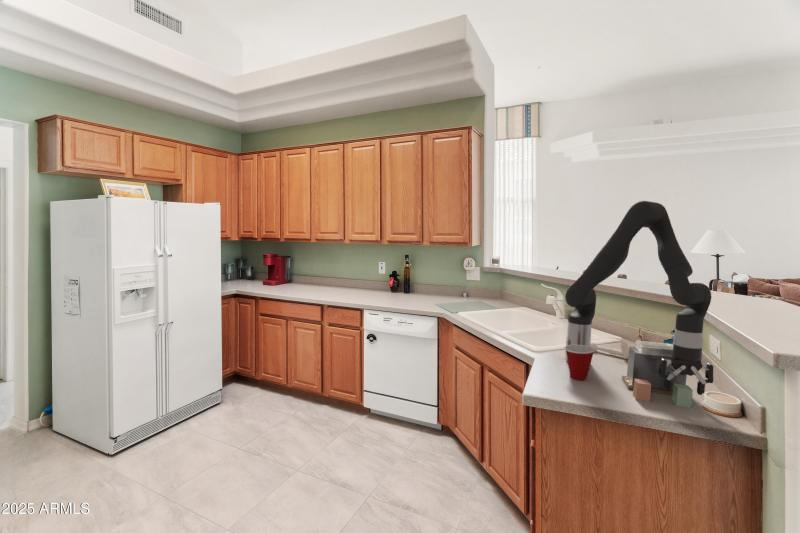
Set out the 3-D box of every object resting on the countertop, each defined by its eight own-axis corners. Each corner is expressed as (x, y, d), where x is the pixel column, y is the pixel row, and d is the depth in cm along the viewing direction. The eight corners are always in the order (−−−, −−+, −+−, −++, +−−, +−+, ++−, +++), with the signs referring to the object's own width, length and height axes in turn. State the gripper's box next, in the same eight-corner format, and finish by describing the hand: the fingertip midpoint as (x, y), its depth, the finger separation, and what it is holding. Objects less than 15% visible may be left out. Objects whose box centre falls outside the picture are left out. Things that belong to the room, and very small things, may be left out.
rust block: (635, 400, 125) (637, 383, 125) (632, 395, 129) (634, 378, 129) (649, 402, 124) (651, 384, 124) (646, 397, 128) (647, 380, 127)
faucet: (592, 359, 179) (587, 338, 180) (633, 356, 166) (626, 334, 167) (589, 361, 176) (583, 340, 177) (630, 358, 163) (623, 336, 165)
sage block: (676, 405, 122) (678, 388, 121) (672, 400, 125) (673, 383, 125) (691, 407, 120) (692, 390, 120) (686, 402, 124) (687, 385, 123)
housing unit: (627, 388, 134) (631, 346, 132) (621, 378, 143) (624, 338, 142) (691, 397, 128) (695, 352, 126) (680, 386, 137) (684, 344, 136)
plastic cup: (565, 369, 152) (567, 341, 150) (595, 376, 145) (597, 346, 144) (559, 378, 143) (561, 348, 142) (590, 385, 137) (592, 354, 135)
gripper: (665, 344, 120) (662, 393, 121) (720, 349, 115) (715, 400, 116) (658, 338, 127) (654, 384, 128) (709, 343, 122) (705, 390, 123)
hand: (683, 392), depth 122 cm, fingers open, 8 cm apart
